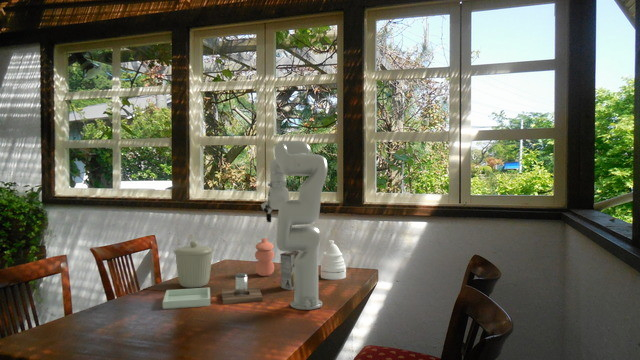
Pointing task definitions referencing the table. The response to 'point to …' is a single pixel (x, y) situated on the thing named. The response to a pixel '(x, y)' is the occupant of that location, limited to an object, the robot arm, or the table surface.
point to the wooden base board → (241, 296)
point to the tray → (186, 298)
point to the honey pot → (333, 263)
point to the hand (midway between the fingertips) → (278, 221)
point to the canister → (193, 265)
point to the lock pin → (241, 284)
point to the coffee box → (288, 269)
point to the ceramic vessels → (265, 259)
